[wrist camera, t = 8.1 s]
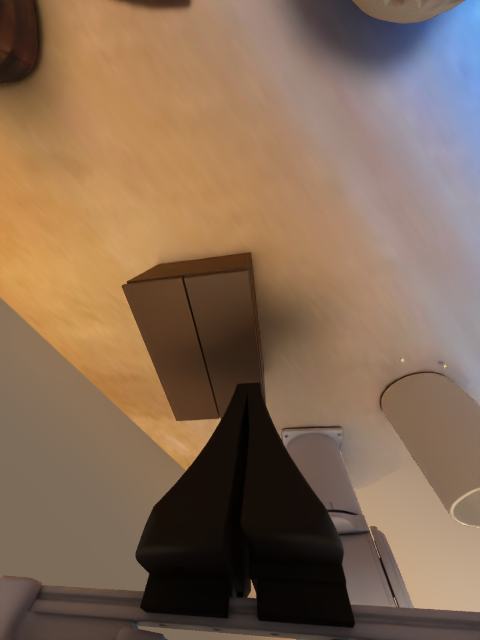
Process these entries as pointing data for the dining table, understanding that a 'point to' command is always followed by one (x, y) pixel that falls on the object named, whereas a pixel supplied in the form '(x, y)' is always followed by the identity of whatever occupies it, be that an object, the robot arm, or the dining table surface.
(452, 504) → the mug
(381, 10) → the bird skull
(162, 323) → the flap
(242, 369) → the carton
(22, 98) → the dining table surface
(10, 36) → the mortar and pestle
